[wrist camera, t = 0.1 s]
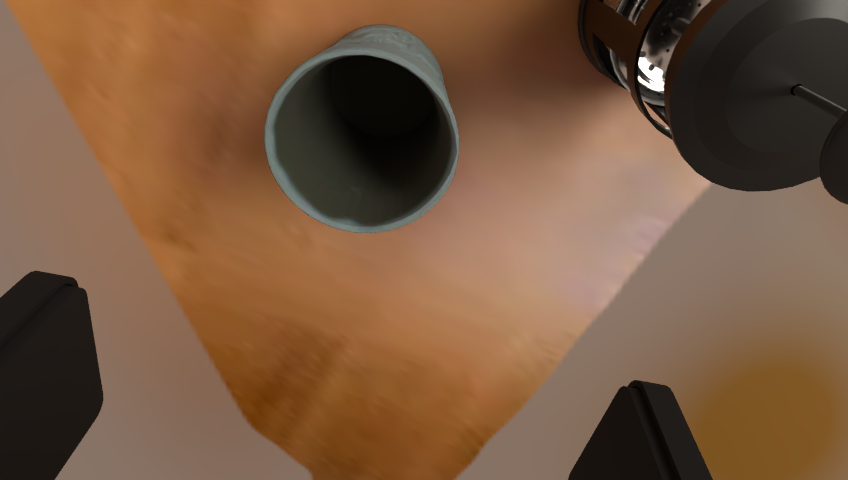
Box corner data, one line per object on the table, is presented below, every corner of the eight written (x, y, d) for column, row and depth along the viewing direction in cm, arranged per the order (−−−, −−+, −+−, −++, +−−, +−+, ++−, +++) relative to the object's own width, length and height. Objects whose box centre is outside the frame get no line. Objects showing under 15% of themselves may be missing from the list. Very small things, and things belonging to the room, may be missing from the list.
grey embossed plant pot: (321, 151, 41) (279, 233, 31) (302, 7, 36) (245, 50, 25) (455, 150, 41) (457, 234, 30) (457, 5, 35) (461, 48, 25)
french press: (698, 96, 38) (965, 306, 18) (563, 89, 38) (686, 290, 18) (761, -103, 31) (1273, -108, 12) (600, -111, 31) (845, -130, 12)
